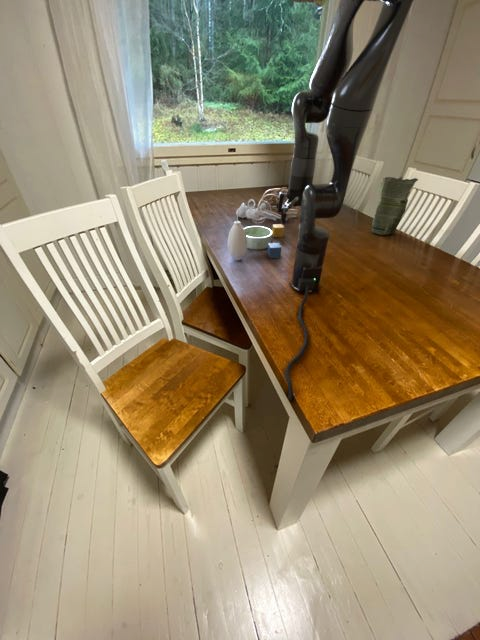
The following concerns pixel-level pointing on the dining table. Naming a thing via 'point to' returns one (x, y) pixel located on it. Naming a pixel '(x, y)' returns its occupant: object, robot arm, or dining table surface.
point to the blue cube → (274, 250)
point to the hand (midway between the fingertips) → (295, 222)
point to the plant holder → (264, 207)
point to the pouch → (391, 204)
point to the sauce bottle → (237, 241)
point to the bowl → (258, 237)
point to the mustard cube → (277, 230)
